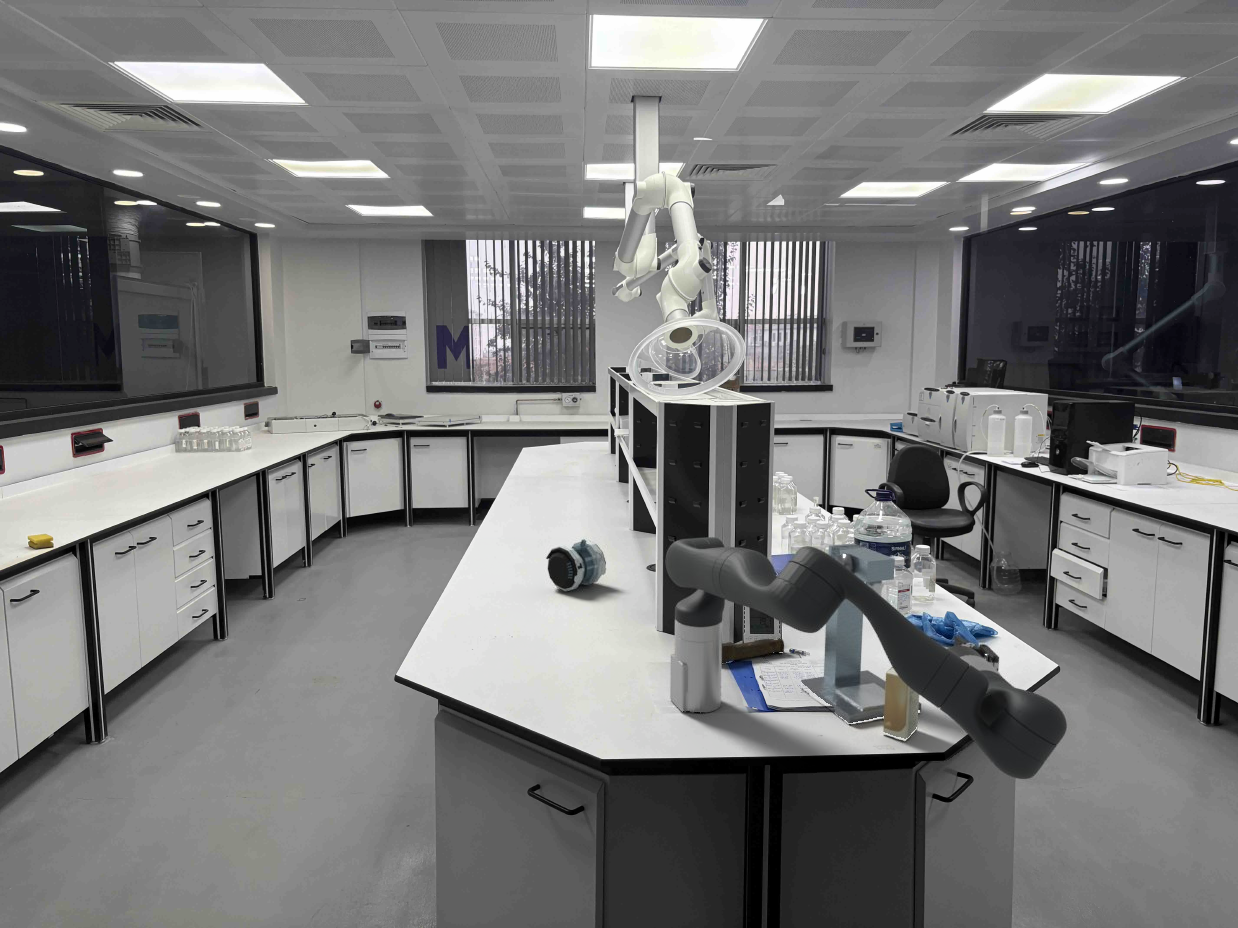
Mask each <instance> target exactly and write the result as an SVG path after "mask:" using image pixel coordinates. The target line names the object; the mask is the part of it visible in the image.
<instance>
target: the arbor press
mask: <svg viewBox="0 0 1238 928" xmlns="http://www.w3.org/2000/svg"><path fill="white" fill-rule="evenodd" d="M827 554H828V555H830V556H832V557H833V558H835V559H836V560H837V561H839V562H840V563H841V564H843V565H844V566H845V567H846V568H848V569H849V570H850V571H851V572H853V573H854V574H855V575H856V576H857V577H859V578H860V579H861V580H862V581H863V582H865V583H866V584H867V585H868V586H869V587H871V588H872V589H873V590H874V591H875V592H877V593H878V594H879V595H880V596H881V597H882V594H883V593H882V592H883V591H882V590H883V589H882V588H883V581H891V580H892V581H893V580H895V565H896V559H895V558H894V557H892V556H889V555H886V554H883V553H880V552H878V551H875V550H872V549H870V548H868V547H865V546H862V545H859V544H857V543H854V542H853V543H846V544H845V543H843V544H832V545H828V552H827ZM863 622H864V614H863V613H862V612H861V611H860V610H859V609H858V608H857V607H856V606H855V605H854V604H853V603H851V602H850V601H849V600H847V599H845V600H844V601H843V602H842V603H841V605H840V606H839V607H838V609H837V610H836V611H835V613H834V614H833V615H832V617H831V618H830V619H829V621H828V622H827V623H826V624H825V631H824V632H825V635H824V636H825V637H824V657H823V658H824V659H823V660H824V661H823V662H824V663H823V665H824V666H823V676H820V677H818V676H817V677H812V678H806V679H800V683H801V682H802V683H803V684H804V685H805V686H807V687H808V688H809V689H810V690H811V691H812V692H813V693H815V694H816V695H817V696H818V697H820V698H821V699H823V700H824V701H825V702H826V703H828V704H830V705H832V706H833V707H834V709H835V713H836V714H837V715H838V716H840V717H842V718H843V719H844V720H846V721H847V722H848V723H853V722H858V721H864V720H869V719H873V718H877V717H883V716H884V705H885V684H886V680H884V679H883V678H881V677H879V676H877V675H876V674H874V673H873V672H871V671H869V670H861V669H862V667H861V666H862V648H863V647H862V646H863V645H862V644H863V625H864V623H863ZM918 710H921V711H922V703H921V702H920V701H919V707H918Z"/></svg>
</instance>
